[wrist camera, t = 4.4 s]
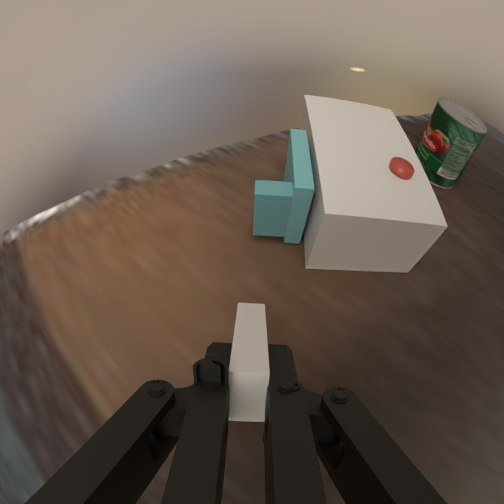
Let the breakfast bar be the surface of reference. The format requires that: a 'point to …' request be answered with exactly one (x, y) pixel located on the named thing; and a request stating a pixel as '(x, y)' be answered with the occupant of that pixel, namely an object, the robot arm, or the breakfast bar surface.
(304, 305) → the breakfast bar surface
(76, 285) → the breakfast bar surface
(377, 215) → the block
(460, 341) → the breakfast bar surface
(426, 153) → the canned tomato
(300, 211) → the door
